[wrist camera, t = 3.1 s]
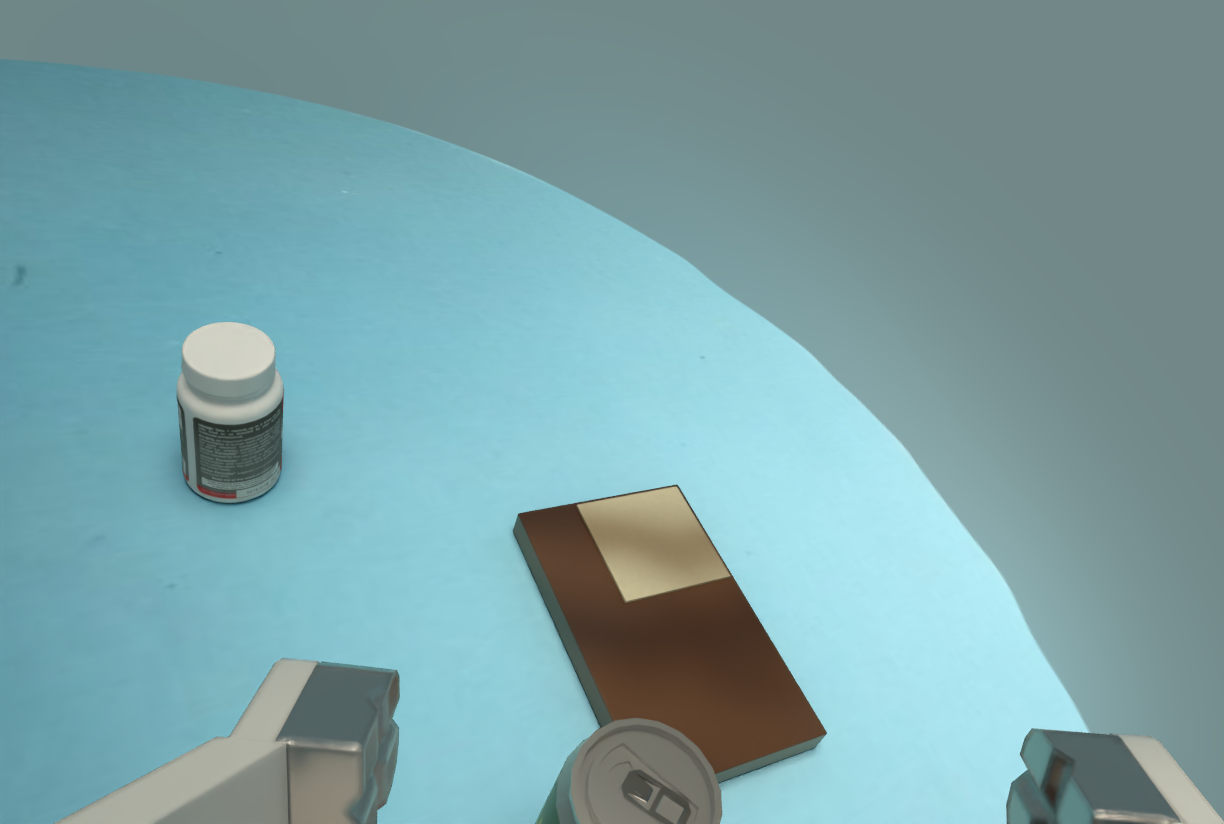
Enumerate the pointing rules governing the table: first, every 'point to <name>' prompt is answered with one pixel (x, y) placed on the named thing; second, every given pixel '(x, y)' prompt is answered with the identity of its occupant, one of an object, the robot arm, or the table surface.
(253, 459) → the pill bottle
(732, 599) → the serving board
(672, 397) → the table surface
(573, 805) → the green drink can
